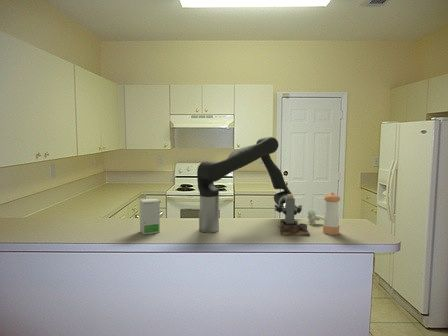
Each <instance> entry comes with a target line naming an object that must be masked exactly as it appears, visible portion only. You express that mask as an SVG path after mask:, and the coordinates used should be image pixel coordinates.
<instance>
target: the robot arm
mask: <svg viewBox="0 0 448 336" xmlns="http://www.w3.org/2000/svg"><path fill="white" fill-rule="evenodd" d="M278 148H279V141H278V140H277V138H275V137H274V136H266V137H261V138H259V139H258V140H257V141H256V144H252V145H247V146H243V147H241V148H238V149H236V150H234V151H232V152H230V154H229V156H228V157H227V158H226V159H223V160H220V161H217V162H214V161H213V162H211V161H202V162H200V164H199V165H198V167H197V170H196V171H197V173H196V177H197V178H196V179H197V180H196V181H197V189H198V192H199V212H198V232H202V233H215V232H218V231H220V191H219V189H218V187H217V186H216V185H215V182H218V181H220V180H222V179H223V178H224V177H226V176H227V175H229V174H231V173H233V172H235V171H237V170H239V169H241V168H244V167H246V166H247V165H249V164H251V163H254V162H255V161H257V160H259V159H261V161H262V163H263V165H264V167H265V169H266V170H267V173H268V176H269V177H270V181H271V184H272V187H273V189H274V190H283V191H279V192H276V193H274V194H273V195H274V196H273V201H274V202H275V205H274V211H275V212H277V213H278V214H279V213H282V214H284V216H285V215H286V209H285V197H287V194H293V193H292V192H291V190H290V189H289V188H288V185H287V183H286V182H285V179H284V176H283V173H282V170H281V169H280V168H279V166H278V165H276V164H275V162H274V161H273V159H272V157H271V154H274V153H276V152H277V150H278ZM302 207H303V206H302V205H301V204H300V205H299V204H298V205H296V204H295V210H294V216H297V214H300V213H301V212H302V210H303V208H302Z"/></svg>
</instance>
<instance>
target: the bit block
mask: <svg viewBox="0 0 448 336" xmlns="http://www.w3.org/2000/svg"><path fill="white" fill-rule="evenodd" d="M279 222H280V224H279V225H278V230H279V233H280V236H292V235H296V236H301V237H310V236H311V235H310V232H309V230H308V223H298V221H297V220H294V225H285V220H280V221H279ZM296 236H295V237H296Z"/></svg>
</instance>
